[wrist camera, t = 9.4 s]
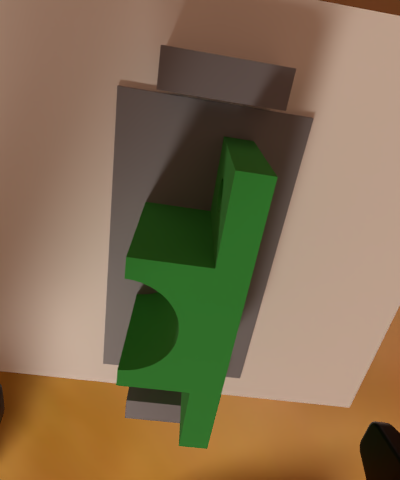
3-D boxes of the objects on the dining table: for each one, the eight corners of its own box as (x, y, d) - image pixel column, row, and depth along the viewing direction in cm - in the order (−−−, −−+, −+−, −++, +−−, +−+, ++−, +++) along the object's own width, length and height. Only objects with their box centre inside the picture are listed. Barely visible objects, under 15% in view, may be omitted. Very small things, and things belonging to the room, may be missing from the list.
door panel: (-14, 351, 20) (-50, 401, 17) (-71, -68, 12) (-158, -107, 9) (341, 389, 21) (364, 441, 18) (502, 42, 13) (586, 38, 10)
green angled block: (152, 124, 13) (133, 152, 9) (253, 140, 14) (279, 174, 9) (130, 356, 18) (111, 443, 14) (204, 364, 18) (207, 451, 14)
